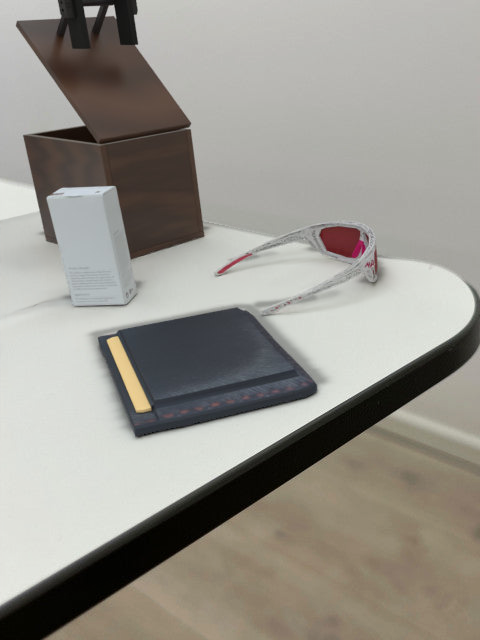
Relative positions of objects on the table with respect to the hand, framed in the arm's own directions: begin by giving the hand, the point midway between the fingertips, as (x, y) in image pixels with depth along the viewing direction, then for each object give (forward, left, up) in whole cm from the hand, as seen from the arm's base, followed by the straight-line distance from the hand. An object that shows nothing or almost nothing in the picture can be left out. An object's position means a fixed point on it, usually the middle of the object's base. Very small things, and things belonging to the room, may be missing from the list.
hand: (105, 46), depth 93 cm
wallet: (+38, -21, -25) cm, 50 cm away
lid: (-1, 0, -4) cm, 4 cm away
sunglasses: (+30, +1, -25) cm, 39 cm away
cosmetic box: (+16, -16, -25) cm, 34 cm away
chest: (-3, 0, -25) cm, 25 cm away
